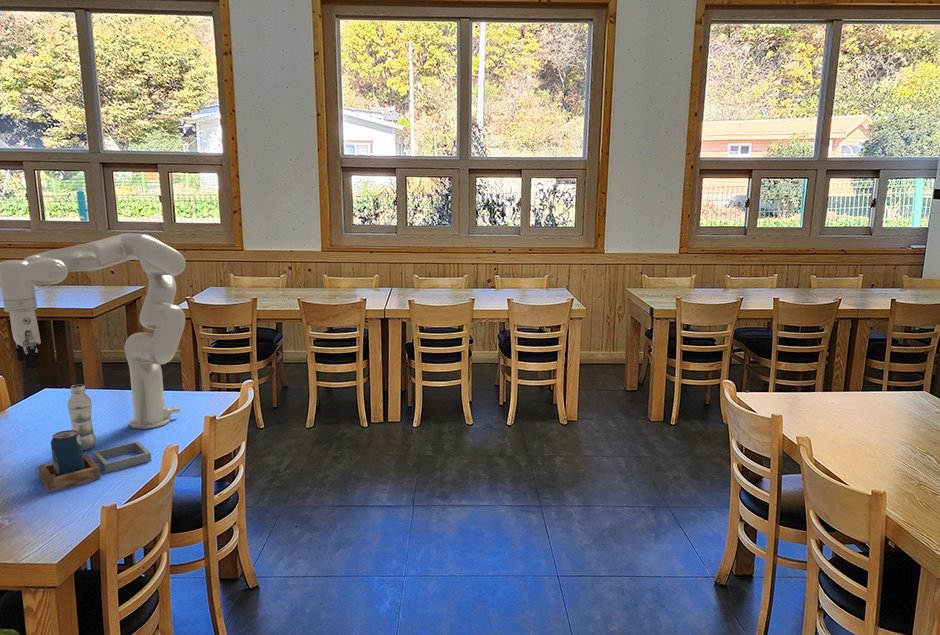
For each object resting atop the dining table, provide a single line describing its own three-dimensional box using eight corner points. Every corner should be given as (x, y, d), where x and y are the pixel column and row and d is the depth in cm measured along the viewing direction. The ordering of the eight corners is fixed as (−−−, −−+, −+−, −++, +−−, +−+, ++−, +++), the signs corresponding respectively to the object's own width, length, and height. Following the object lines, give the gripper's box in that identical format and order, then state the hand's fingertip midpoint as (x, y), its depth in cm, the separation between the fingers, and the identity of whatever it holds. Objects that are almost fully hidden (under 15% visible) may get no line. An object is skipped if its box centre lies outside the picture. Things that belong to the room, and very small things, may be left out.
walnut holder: (89, 464, 176) (87, 454, 175) (100, 478, 168) (99, 467, 167) (39, 477, 168) (37, 466, 167) (48, 492, 159) (47, 480, 159)
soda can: (90, 469, 171) (85, 429, 169) (75, 480, 164) (70, 438, 162) (65, 469, 171) (60, 429, 169) (49, 480, 164) (44, 438, 162)
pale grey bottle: (70, 454, 183) (63, 390, 179) (73, 446, 189) (66, 384, 185) (95, 450, 186) (89, 388, 182) (97, 442, 192) (91, 382, 188)
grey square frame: (138, 448, 188) (137, 441, 187) (151, 460, 179) (150, 452, 179) (94, 459, 179) (93, 451, 179) (105, 472, 171) (104, 464, 171)
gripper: (44, 307, 167) (52, 367, 170) (29, 299, 178) (37, 355, 182) (10, 310, 161) (19, 372, 165) (-3, 302, 173) (6, 360, 176)
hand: (28, 363), depth 173 cm, fingers open, 9 cm apart
